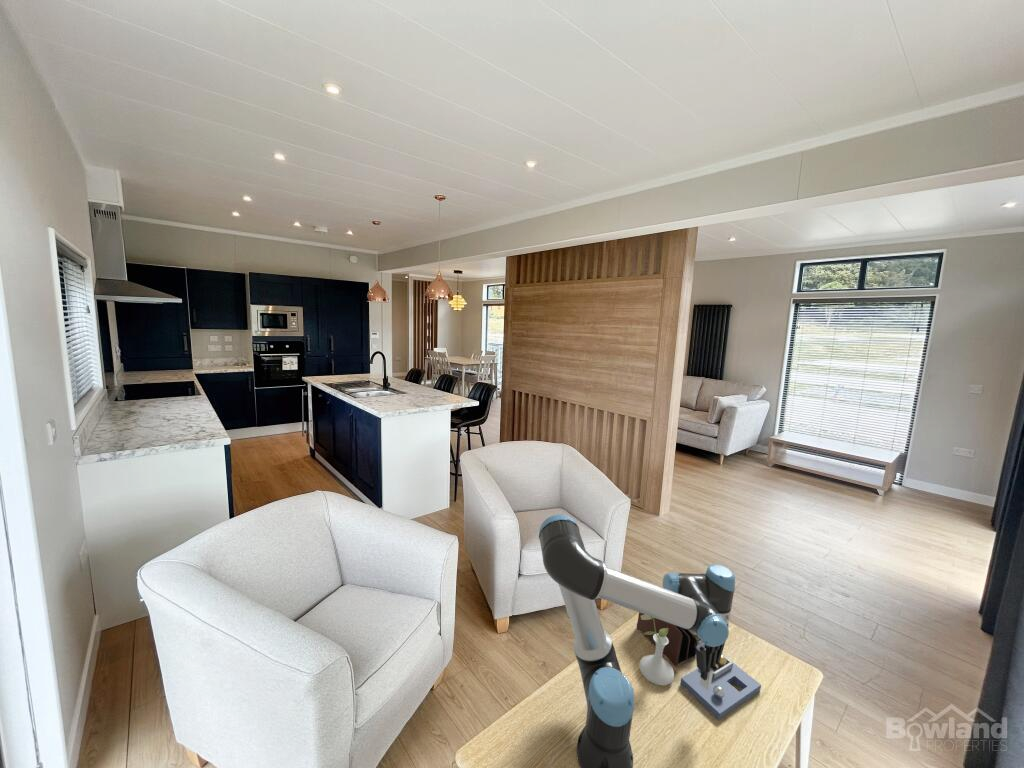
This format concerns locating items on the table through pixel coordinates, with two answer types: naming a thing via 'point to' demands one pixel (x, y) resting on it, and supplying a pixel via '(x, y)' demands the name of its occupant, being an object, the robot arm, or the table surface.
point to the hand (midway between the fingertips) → (704, 686)
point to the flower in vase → (657, 659)
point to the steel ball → (718, 691)
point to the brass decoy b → (722, 661)
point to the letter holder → (671, 639)
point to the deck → (724, 680)
